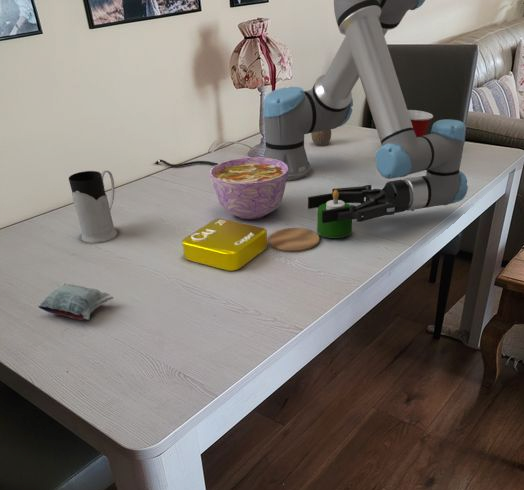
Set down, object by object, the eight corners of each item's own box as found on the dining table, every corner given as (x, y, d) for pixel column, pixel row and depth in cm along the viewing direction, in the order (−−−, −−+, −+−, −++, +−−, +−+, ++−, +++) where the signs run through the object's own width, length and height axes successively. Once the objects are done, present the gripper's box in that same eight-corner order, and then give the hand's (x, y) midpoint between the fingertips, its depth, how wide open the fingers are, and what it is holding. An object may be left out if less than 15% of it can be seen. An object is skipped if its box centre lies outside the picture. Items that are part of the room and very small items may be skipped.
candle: (342, 221, 134) (344, 181, 128) (357, 234, 127) (360, 192, 121) (311, 226, 132) (312, 186, 126) (325, 240, 125) (326, 198, 119)
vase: (333, 141, 191) (333, 115, 186) (328, 147, 186) (329, 120, 180) (314, 141, 193) (314, 115, 188) (309, 146, 188) (309, 120, 182)
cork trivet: (258, 242, 128) (258, 240, 128) (291, 225, 135) (291, 224, 134) (296, 256, 121) (296, 254, 121) (329, 238, 128) (329, 236, 127)
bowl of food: (198, 216, 142) (192, 172, 135) (250, 193, 154) (248, 152, 147) (252, 235, 131) (249, 189, 124) (305, 209, 142) (305, 165, 135)
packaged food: (69, 294, 112) (63, 274, 109) (116, 305, 108) (110, 283, 105) (40, 316, 106) (32, 295, 103) (88, 328, 102) (81, 306, 99)
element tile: (234, 273, 116) (232, 252, 113) (180, 258, 123) (177, 239, 120) (270, 245, 126) (270, 226, 123) (219, 233, 133) (217, 215, 130)
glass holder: (74, 240, 134) (57, 180, 125) (107, 218, 144) (94, 161, 135) (103, 244, 131) (88, 183, 122) (135, 221, 141) (123, 164, 133)
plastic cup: (429, 157, 172) (434, 117, 165) (394, 156, 174) (398, 117, 167) (427, 147, 181) (432, 108, 174) (394, 146, 183) (398, 108, 176)
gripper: (424, 227, 123) (331, 243, 119) (382, 195, 140) (300, 208, 135) (428, 195, 119) (332, 210, 114) (385, 166, 135) (299, 179, 131)
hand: (315, 209), depth 125 cm, fingers closed on candle, 8 cm apart
